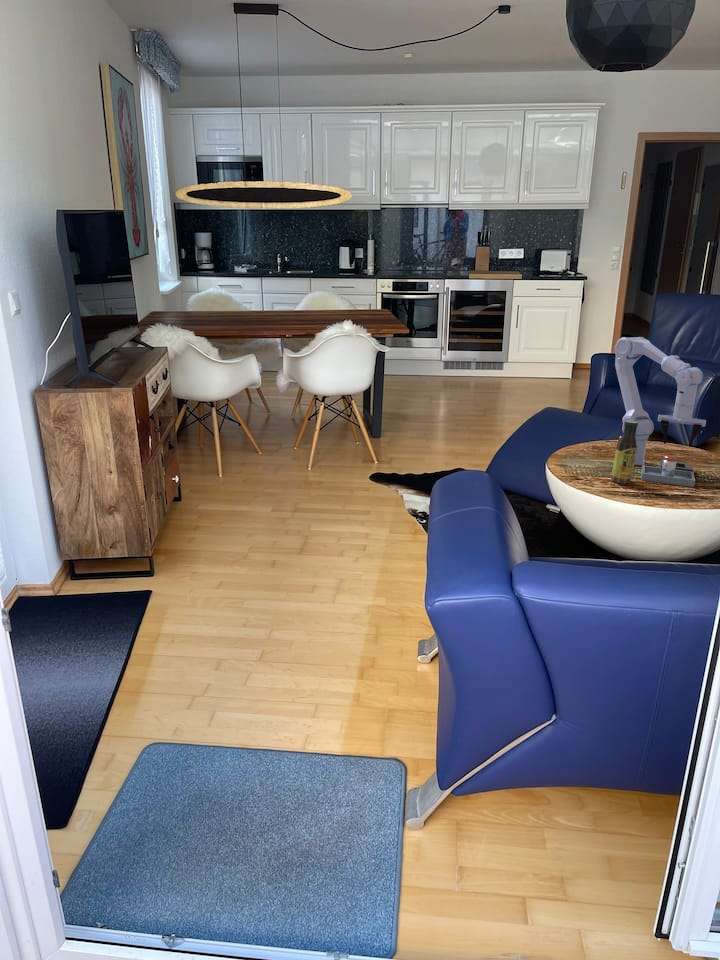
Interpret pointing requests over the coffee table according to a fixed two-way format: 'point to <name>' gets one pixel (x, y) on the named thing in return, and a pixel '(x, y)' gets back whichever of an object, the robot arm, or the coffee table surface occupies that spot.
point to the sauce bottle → (625, 454)
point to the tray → (679, 476)
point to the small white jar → (668, 465)
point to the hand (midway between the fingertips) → (677, 444)
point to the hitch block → (681, 466)
